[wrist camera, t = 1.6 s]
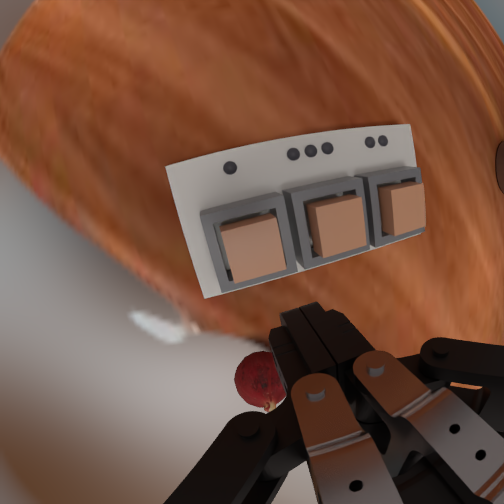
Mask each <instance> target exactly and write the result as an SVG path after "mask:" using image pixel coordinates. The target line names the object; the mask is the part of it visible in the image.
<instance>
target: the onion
mask: <svg viewBox="0 0 504 504" xmlns="http://www.w3.org/2000/svg"><path fill="white" fill-rule="evenodd" d="M234 381H235V384H236V388H237V391H238V393H239V395H240V396H241V397H242V398H243V399H244V400H245V401H246V402H247V403H248V404H250V405H253V406H256V407H264V410H265V411H267V412H270V411H272V410H274V409H275V408H276V404H277V403H279V402H280V401H281V400H283V399H284V398H285V396H286V393H285V390H284V388H283V385H282V383H281V380H280V377H279V375H278V372H277V370H276V367H275V363H274V359H273V355H272V353H270V352H265V351H260V352H254V353H252V354H250V355H248V356H246V357H245V358H244V359H243V360H242V362H241V363H240V364H239V366H238V367H237V370H236V373H235V378H234Z"/></svg>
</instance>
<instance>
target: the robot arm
mask: <svg viewBox="0 0 504 504" xmlns="http://www.w3.org/2000/svg"><path fill="white" fill-rule="evenodd" d="M496 172H497V179H498V183H499V186H500V189H501V191H502V192H503V193H504V141H503V142H501V144H500V145H499V148H498V151H497V157H496ZM280 320H281V325H282V326H280V327H277V328H274V329H271V331H270V335H269V343H270V347H271V351H272V355H273V359H274V363H275V367H276V370H277V372H278V375H279V377H280V380H281V383H282V385H283V388H284V390H285V393H286V398H285V399H284V401H283V402H282V403H281V404H280V405H279V406H278V407H277V408H275V409H274V410H272V411H270V412H269V413H267V414H265V413H262V412H257V411H250V412H244V413H241V414H239V415H237V416H235V417H234V418H232V419H231V420H230V421H229V422H228V423H227V424H226V426H225V427H224V429H223V430H222V431H221V433H220V434H219V435H218V437H217V438H216V439H215V441H214V442H213V443H212V445H211V446H210V447H209V449H208V450H207V451H206V452H205V454H204V455H203V456H202V458H201V459H200V460H199V461H198V463H197V464H196V465H195V467H194V468H193V469H192V470H191V471H190V473H189V474H188V475H187V477H186V478H185V479H184V480H183V481H182V482H181V484H180V485H179V486H178V487H177V488H176V490H175V491H174V492H173V493H172V494H171V495H170V496H169V498H168V499H167V500H166V501H165V502H164V503H163V504H271V503H272V501H273V499H274V498H275V496H276V494H277V493H278V491H279V489H280V487H281V486H282V484H283V482H284V480H285V478H286V477H287V475H288V472H289V471H290V470H292V469H294V468H295V467H297V466H298V465H300V464H301V463H303V462H304V461H307V465H308V468H309V472H310V476H311V479H312V482H313V486H314V490H315V495H316V498H317V502H318V504H504V346H502V345H493V344H485V343H478V342H470V341H463V340H456V339H450V338H443V337H437V338H432V339H430V340H428V341H426V342H425V343H424V344H423V345H422V347H421V351H420V354H416V355H412V356H407V357H402V358H395V357H394V356H393V355H391V354H390V353H388V352H385V351H379V350H375V349H374V348H373V346H372V345H371V344H370V343H369V342H368V341H367V340H366V339H365V337H364V336H363V335H362V334H361V333H360V332H359V331H358V330H357V329H356V328H355V326H354V325H353V324H352V323H350V321H349V320H348V318H347V317H346V316H345V315H344V314H343V313H340V312H338V311H336V310H334V309H332V310H329V311H326V312H325V310H324V309H323V308H322V307H321V306H320V304H319V303H318V302H314V303H311V304H307V305H304V306H301V307H299V308H295V309H292V310H289V311H285V312H282V313H280ZM451 382H455V383H461V384H468V385H474V386H481V387H482V388H480V389H477V390H474V389H468V388H461V387H455V386H450V384H451ZM499 431H500V432H499Z"/></svg>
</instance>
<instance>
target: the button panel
mask: <svg viewBox="0 0 504 504" xmlns="http://www.w3.org/2000/svg"><path fill="white" fill-rule="evenodd" d="M165 167H166V171H167V175H168V179H169V183H170V186H171V190H172V194H173V198H174V201H175V205H176V208H177V212H178V215H179V219H180V222H181V226H182V229H183V233H184V236H185V239H186V243H187V246H188V249H189V252H190V256H191V259H192V262H193V265H194V268H195V271H196V274H197V278H198V281H199V284H200V287H201V290H202V293H203V296H204V299H206V298H209V297H213V296H217V295H221V294H224V293H228V292H232V291H235V290H239V289H243V288H246V287H250V286H253V285H257V284H261V283H264V282H268V281H271V280H275V279H278V278H281V277H285V276H288V275H292V274H295V273H299V272H302V271H305V270H309V269H312V268H315V267H319V266H322V265H325V264H328V263H332V262H335V261H338V260H341V259H345V258H348V257H351V256H354V255H357V254H360V253H363V252H367V251H370V250H373V249H376V248H379V247H382V246H385V245H388V244H391V243H394V242H397V241H400V240H403V239H406V238H409V237H412V236H415V235H418V234H421V232H424V231H425V228H424V227H422V228H419V229H416V230H413V231H409V232H406V233H403V234H400V235H397V236H393V235H391V234H388V233H386V232H384V231H382V225H381V213H380V203H379V194H378V188H379V187H384V186H388V185H393V184H398V183H403V182H408V181H412V182H418V183H422V179H421V170H420V168H419V167H417V166H416V158H415V151H414V144H413V138H412V132H411V127H410V124H402V125H385V126H372V127H361V128H351V129H342V130H334V131H326V132H319V133H312V134H305V135H299V136H293V137H287V138H281V139H276V140H271V141H266V142H261V143H256V144H251V145H246V146H242V147H237V148H233V149H228V150H224V151H220V152H216V153H212V154H208V155H204V156H200V157H197V158H193V159H189V160H186V161H182V162H179V163H175V164H172V165H169V166H165ZM347 194H352V195H356V196H359V197H362V204H363V213H364V222H365V232H366V243H367V245H365V246H362V247H359V248H356V249H353V250H349V251H346V252H343V253H339V254H336V255H333V256H330V257H326V258H322V257H321V256H320V255H319V254H317V253H316V252H315V251H314V249H313V242H312V236H311V230H310V224H309V218H308V212H307V207H306V204H308V203H312V202H317V201H321V200H325V199H329V198H334V197H338V196H343V195H347ZM267 213H271V214H272V215H273V216H275V217H276V218H277V223H278V228H279V233H280V238H281V243H282V248H283V253H284V258H285V263H286V268H287V269H285V270H282V271H278V272H275V273H271V274H268V275H264V276H261V277H257V278H254V279H250V280H246V281H243V282H239V283H236V284H235V283H234V279H233V276H232V272H231V269H230V265H229V261H228V258H227V254H226V250H225V247H224V243H223V239H222V235H221V232H220V228H219V226H221V225H225V224H229V223H233V222H236V221H240V220H244V219H248V218H252V217H256V216H260V215H264V214H267Z"/></svg>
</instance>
